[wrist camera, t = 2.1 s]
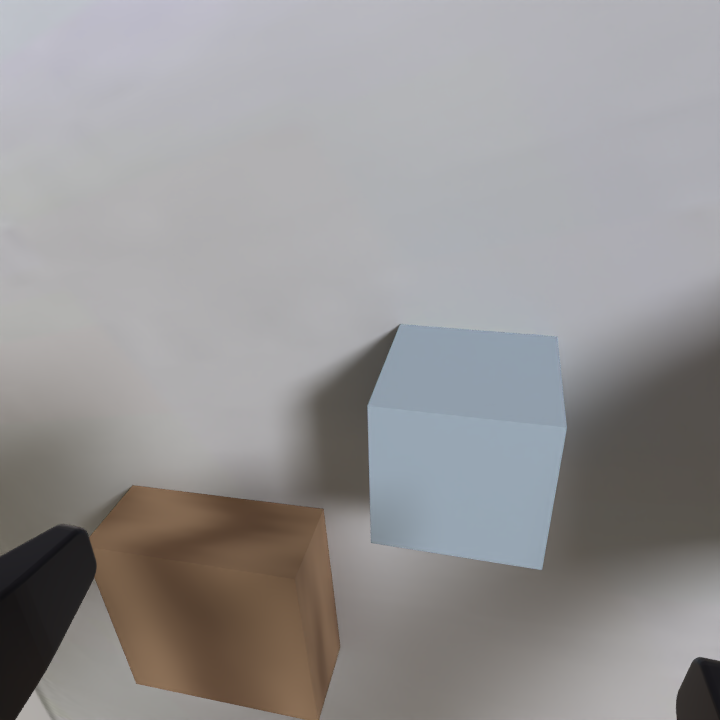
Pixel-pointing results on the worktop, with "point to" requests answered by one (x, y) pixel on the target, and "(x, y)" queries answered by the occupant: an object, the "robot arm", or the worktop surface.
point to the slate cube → (466, 444)
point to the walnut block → (221, 597)
